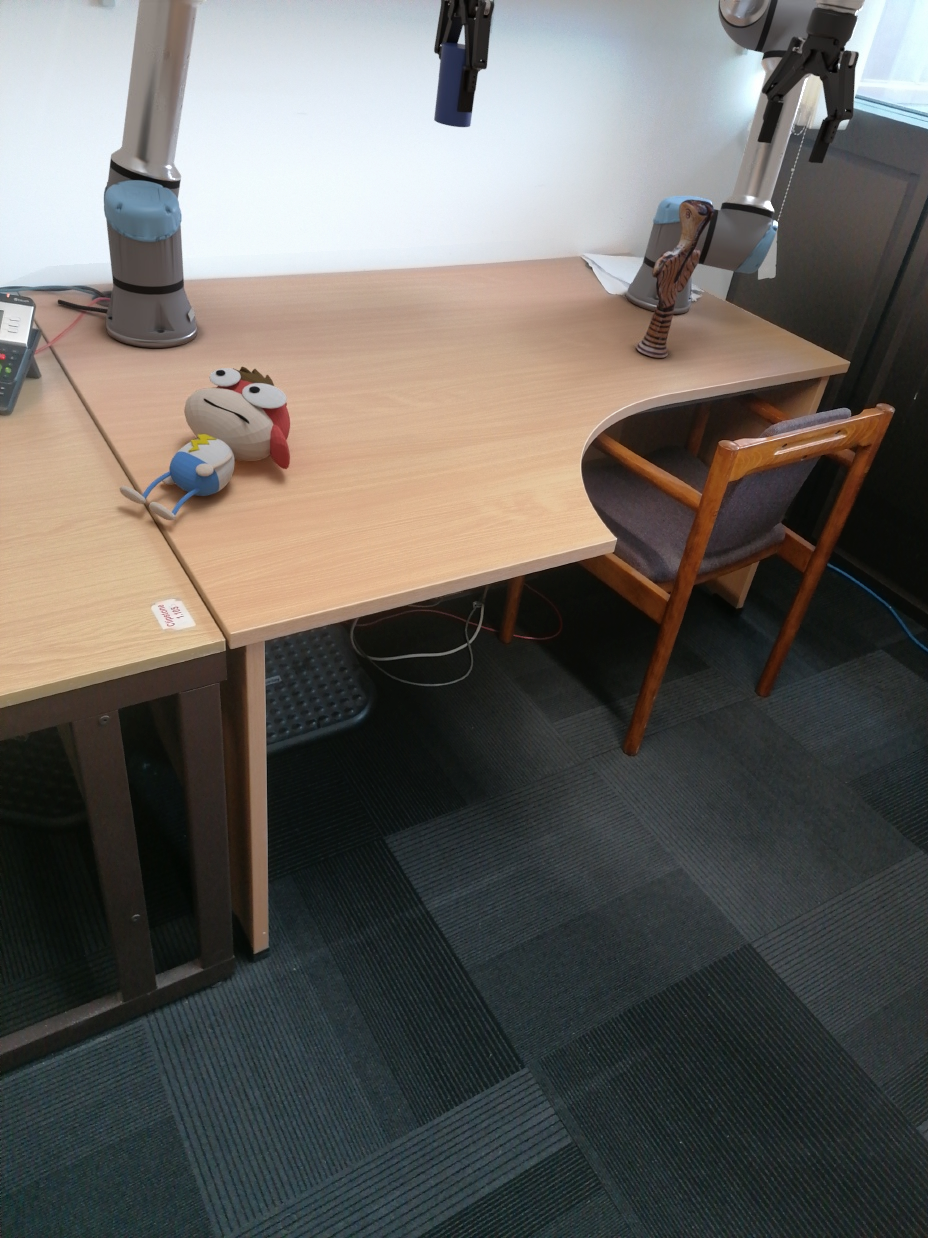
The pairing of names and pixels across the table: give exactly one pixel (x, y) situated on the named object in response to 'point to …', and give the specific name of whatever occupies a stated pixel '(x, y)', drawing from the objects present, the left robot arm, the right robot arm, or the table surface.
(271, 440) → the toy
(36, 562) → the table surface
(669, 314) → the figurine
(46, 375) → the table surface
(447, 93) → the canister
